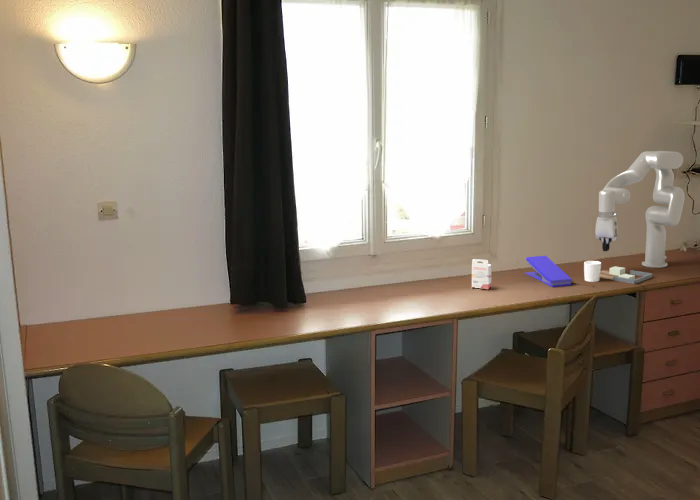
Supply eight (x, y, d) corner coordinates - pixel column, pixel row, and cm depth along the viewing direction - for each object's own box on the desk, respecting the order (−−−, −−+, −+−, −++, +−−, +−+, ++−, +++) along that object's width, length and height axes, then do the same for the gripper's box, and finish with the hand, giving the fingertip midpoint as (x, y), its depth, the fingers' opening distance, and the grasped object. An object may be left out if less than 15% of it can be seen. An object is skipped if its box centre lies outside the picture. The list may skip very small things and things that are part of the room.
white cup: (597, 285, 348) (598, 264, 346) (581, 283, 352) (581, 263, 350) (602, 281, 354) (603, 261, 352) (586, 279, 358) (587, 260, 356)
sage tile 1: (624, 279, 354) (624, 273, 354) (634, 281, 350) (634, 275, 350) (618, 281, 351) (618, 275, 350) (628, 283, 347) (629, 277, 346)
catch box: (630, 275, 363) (630, 270, 362) (652, 279, 355) (652, 273, 354) (612, 282, 352) (613, 276, 351) (635, 286, 343) (635, 280, 343)
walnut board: (604, 272, 372) (604, 269, 372) (629, 276, 362) (629, 273, 362) (588, 277, 362) (588, 275, 362) (613, 282, 352) (613, 279, 352)
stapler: (543, 273, 375) (543, 254, 373) (572, 286, 349) (573, 266, 347) (523, 275, 373) (523, 256, 371) (551, 288, 346) (551, 268, 344)
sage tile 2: (614, 272, 367) (615, 266, 366) (625, 273, 363) (625, 267, 362) (609, 274, 363) (609, 268, 363) (619, 275, 359) (619, 269, 359)
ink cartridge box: (491, 288, 349) (491, 258, 346) (488, 290, 344) (488, 260, 341) (474, 286, 353) (474, 256, 350) (471, 288, 348) (471, 259, 345)
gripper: (624, 214, 357) (623, 251, 361) (596, 212, 367) (595, 247, 371) (617, 217, 352) (616, 254, 356) (588, 214, 362) (588, 250, 366)
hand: (605, 250), depth 364 cm, fingers closed
